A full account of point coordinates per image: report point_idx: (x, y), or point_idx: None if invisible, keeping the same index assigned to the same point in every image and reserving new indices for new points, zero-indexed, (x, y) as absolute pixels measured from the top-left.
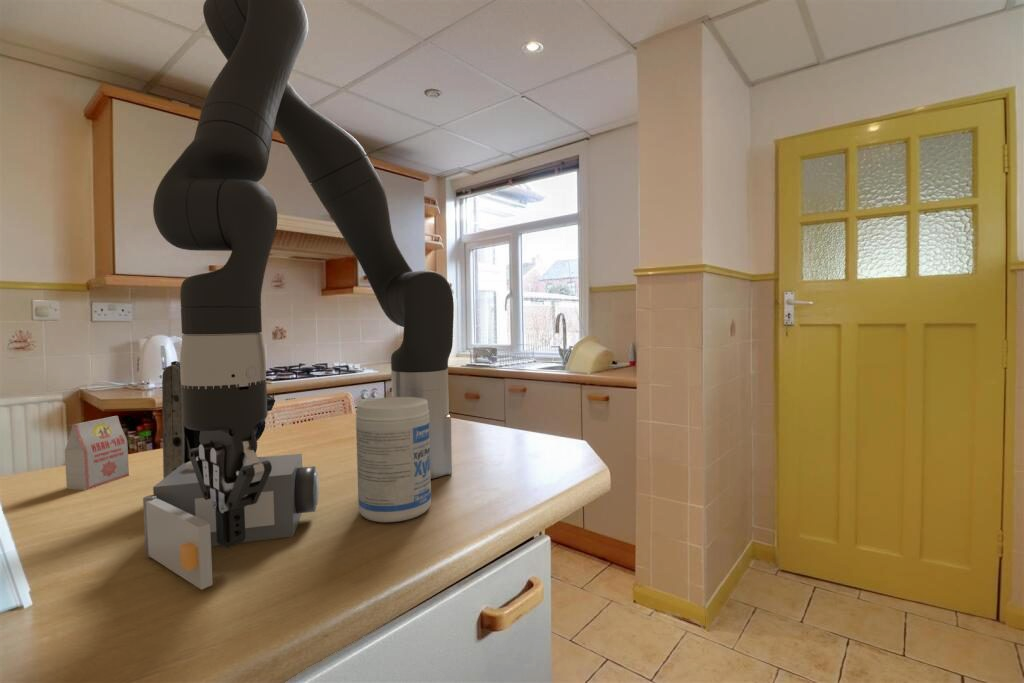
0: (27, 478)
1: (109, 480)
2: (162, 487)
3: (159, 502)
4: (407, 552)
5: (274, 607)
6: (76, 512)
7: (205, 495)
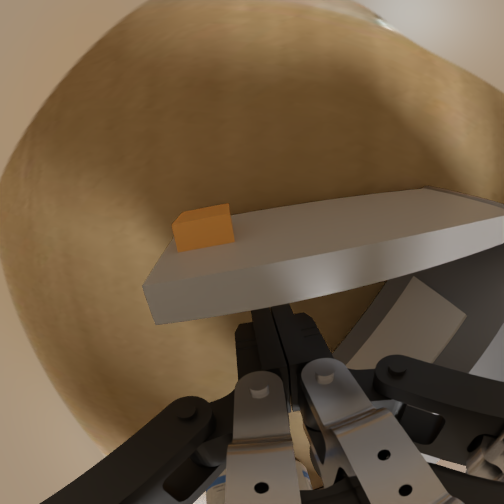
0: None
1: None
2: None
3: (493, 236)
4: None
5: (68, 298)
6: None
7: (389, 367)
